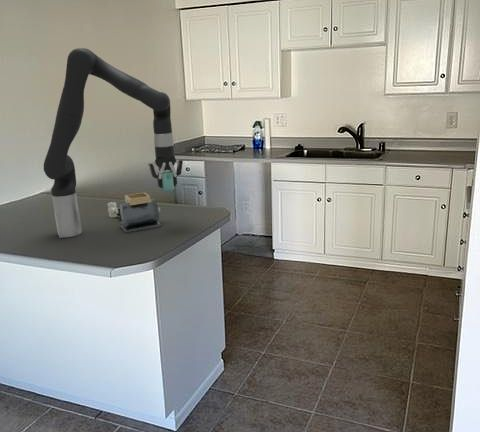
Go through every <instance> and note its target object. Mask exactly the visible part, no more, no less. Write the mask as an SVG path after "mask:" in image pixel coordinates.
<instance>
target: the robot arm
mask: <svg viewBox="0 0 480 432" xmlns="http://www.w3.org/2000/svg"><path fill="white" fill-rule="evenodd" d="M89 75H90V76H94V77H97V78H98V79H101V80H103V81H105V82H107V83H108V84H110V85H111V86H113V87H114V88H115V89H117V90H118V91H119V92H121V93H123V94H125V95H127V96H128V97H131V98H133V99H134V100H136V101H138V102H141V104H144V105H145V106H147V107H148V108H150V109H152V110H153V111H152V112H153V120H152V121H153V122H152V125H153V144H154V155H155V161H154V162H149V163H148V167H149V171H150V174H151V177H153V178H154V179H157V186H158V187H159V189H162V188H163V185H162V179H161V178H162V174H163V171H171V172H173V180H174V187H176V186H177V185H178V176H181V175H182V171H183V170H182V169H183V162H184V161H183V160H182V159H176V155H175V144H174V135H173V129H172V127H173V126H172V119H171V99H170V97H169V95H168V94H167V93H165V92H163V91H159V90H156V89H154V88H152V87H150V86H149V85H147V83H145V82H144V81H141V80H140V79H138V78H137V77H134V76H132V75H130V74H128V73H126V72H124V71H123V70H120V69H118V68H117V67H115V66H113V65H111V64H109V62H106V61H105V60H104V59H102V58H101V57H99V56H98V55H97V54H95V53H94V52H93V51H92V50H90V49H88V48H87V47H86V48H85V47H84V48H83V47H81V48H80V47H79V48H74V49H72V50H71V51H70V52H69V53H68V56H67V60H66V70H65V78H64V84H63V89H62V91H61V96H60V99H59V104H58V107H57V111H56V116H55V121H54V125H53V130H52V135H51V140H50V144H49V146H48V150H47V153H46V155H45V158H44V161H43V172H44V174H45V176H46V177H47V178H49V179H50V180H54V181H53V185H52V187H51V189H50V193H51V198H52V204H53V210H54V219H55V224H56V225H55V226H56V230H57V235H58V237H59V238H60V239H61V238H74V237H76V236H79V235H82V233H83V231H82V230H83V229H82V223H81V216H80V211H79V206H78V205H79V204H78V198H77V190H76V187H77V176H76V175H77V174H76V167H75V163H74V160H73V158H72V157H71V156H70V155H68V153H69V150H70V147H71V145H72V143H73V141H74V140H75V138H76V136H77V134H78V133H79V130H80V128H81V125H82V122H83V121H82V120H83V117H84V112H85V111H84V110H85V87H86V84H87V80H88V77H89ZM175 164H176V169H175V167H174V166H175ZM156 167H158V169H157V173H156V170H155V168H156Z"/></svg>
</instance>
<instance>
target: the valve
mask: <svg viewBox="0 0 480 432" xmlns="http://www.w3.org/2000/svg"><path fill="white" fill-rule="evenodd" d="M107 207H108V208H107V211H108V218H117V217H118V220H121V215H120V207H119V208H118V207H117V202H116V201H111V202H108V203H107ZM121 221H122V220H121Z"/></svg>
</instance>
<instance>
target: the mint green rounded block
mask: <svg viewBox="0 0 480 432" xmlns="http://www.w3.org/2000/svg"><path fill="white" fill-rule="evenodd" d="M161 179H162V185H163V188H161V191H163V192H164V191H166V192H167V191H174V189H175V186H174V180H173V172H171V171H170V170H166V171H163V174H162V178H161Z"/></svg>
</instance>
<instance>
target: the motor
mask: <svg viewBox="0 0 480 432" xmlns="http://www.w3.org/2000/svg"><path fill="white" fill-rule="evenodd" d="M124 202H125V203H120V205H119V209H120V215H121V222H122V223H121V224H120V228H121V229H122V230H123V231H124V232H125V233H126V232H127V233H131V231H133V232H137V230H138V231H144V230H149V229H154V228H158V227H162V223H161V222H159V219H160V214H159V213H160V212H161V210H162V209H161V207H160V206H158V204H157V203H158V202H157V201H156V199H155V198H151V195H149V194H148V193H146V192H145V191H144V192H139V193H131V194H125V195H124Z"/></svg>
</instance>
